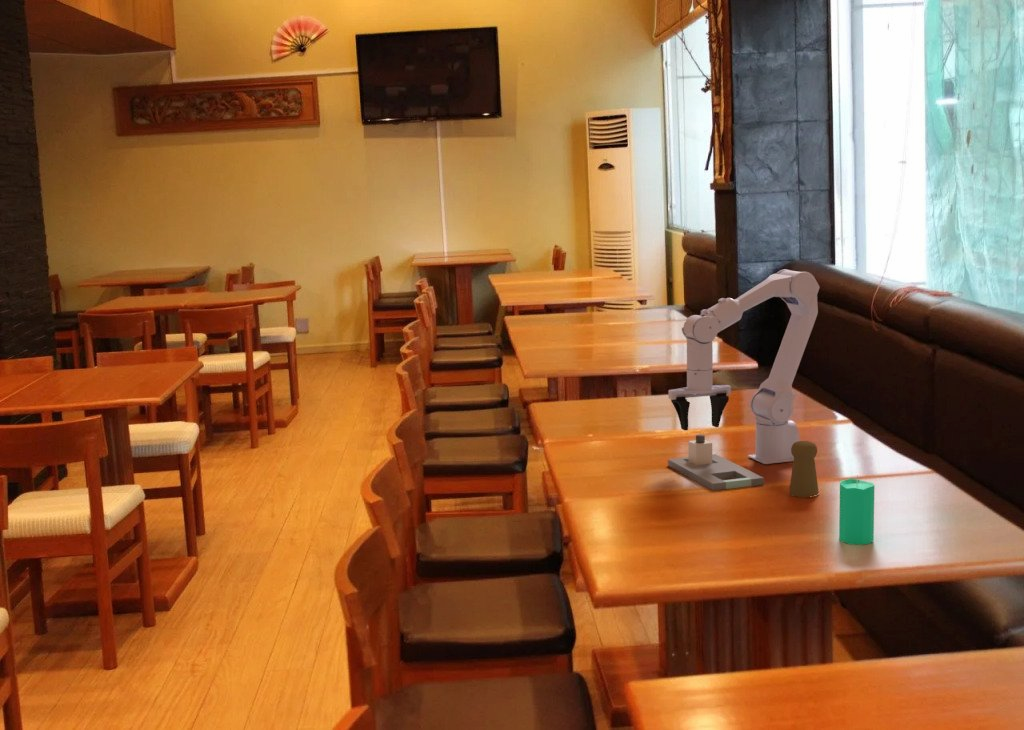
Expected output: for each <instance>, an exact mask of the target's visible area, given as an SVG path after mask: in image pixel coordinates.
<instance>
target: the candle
mask: <svg viewBox="0 0 1024 730" xmlns="http://www.w3.org/2000/svg"><path fill="white" fill-rule="evenodd" d="M838 524H839V525H838V527H839V529H838V530H839V531H838V538H839V541H840V542H842V543H844V542H845V543H844V544H847V543H848V545H852V544H853V546H863V545H862V544H865V545H869V544H868V543H870V544H872V543H873V542H874V535H875V533H874V531H875V526H874V525H875V484H874V483H873V482H869V481H865V480H861V479H858V474H857V475H856V479H855V478H847V479H843V480H841V481H839V523H838ZM872 541H873V542H872ZM871 542H872V543H871ZM856 544H858V545H856Z"/></svg>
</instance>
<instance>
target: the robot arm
mask: <svg viewBox="0 0 1024 730" xmlns="http://www.w3.org/2000/svg"><path fill="white" fill-rule="evenodd" d="M820 288H821V287H820V285H819V283H818V281H817V280H816V278H815V276H814V275H813V274H812V273H810V272H808V271H799V270H798V271H796V270H791V269H788V268H787V269H785V268H784V269H780V270H778V271H777V272H776V273H773V274H770V275H769V276H768V277H767V278H766V279H764V280H763V281H762V282H760V283H759V284H757V285H755V286H754V287H752V288H750V289H749V290H747V291H746V292H744V293H743V294H741V295H739V296H738V297H737V298H734V299H733V298H731V297H727V298H724V297H721V298H719V299H718V300H717V302H718V303H716V304H714V305H712V306H711V307H709V308H707V309H706V308H705V309H702V310H700V314H699V315H698V314H694V315H690V316H688V318H686V320H685V321H684V323H683V326H682V327H681V332H682V334H683V336H684V337H685V339H686V387H680V388H675V389H674V388H672V389H669V390H667V391H668V399H669V400H671V401H670V402H671V404H672V405H673V408H674V409H675V411H676V414H677V417H678V420H679V424H680V429H681V430H683V431H689V411H690V410H689V409H690V406H691V405H690V404H691V402H690V401H688V398H700V397H708V396H709V401H710V406H711V426H712V427H714V428H719V427H720V423H721V418H722V415H723V412H724V410H725V408H726V406H727V404H728V402H729V400H730V398H729V395H730V396H731V395H732V386H731V385H729V384H719V385H718V384H717V385H716V384H714V385H713V383H714V382H713V380H714V379H713V378H714V377H713V376H714V375H713V373H714V371H713V370H714V369H713V355H714V354H713V351H714V350H713V349H714V348H713V341H714V340H715V339H716V337H717V335H718V333H720V332H722V331H723V330H725V329H727V328H728V327H730V326H732V325H734V324H736V323H737V322H739V321H740V320H741V319H742V317H743V313H744V312H746V311H748V310H750V309H752V308H753V307H756V306H757V305H760V304H761V303H763V302H765V301H768V300H769V299H772V298H774V297H775V298H780V299H781V300H782V301H784V303H786V305H787V308H788V310H789V312H790V313H791V315H790V318H789V321H788V323H787V326H786V329H785V332H784V334H783V337H782V339H781V343H780V346H779V349H778V351H777V354H776V356H775V359H774V362H773V364H772V368H771V369H770V373H769V376H768V377H767V378H766V379H764V381H762V382H761V383H760V385H759V388H758V389H757V391H756V392H755V393H754V394H753V396H752V397H751V399H750V403H749V406H750V407H749V408H750V410H751V412H752V414H753V415H754V416H755V417H754V418H755V419H754V420H755V454H754V453H753V454H749V455H747V456H748V458H749V459H752V460H754V461H757V462H759V463H761V464H763V465H770V464H781V463H786V462H787V463H788V462H793V461H794V457H793V455H792V453H791V447H792V445H793V443H795V442H798V441H800V431H799V427H798V425H797V423H796V422H795V421H794V420H792V419H791V417H792V416H793V413H794V400H795V397H796V394H795V391H794V389H793V386H792V385H793V382H794V379H795V377H796V375H797V371H798V370H799V366H800V363H801V361H802V358H803V355H804V352H805V349H806V347H807V344H808V341H809V338H810V336H811V334H812V331H813V328H814V325H815V322H816V320H817V316H818V315H819V308H818V293H819V290H820Z"/></svg>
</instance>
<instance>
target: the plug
mask: <svg viewBox="0 0 1024 730" xmlns="http://www.w3.org/2000/svg"><path fill="white" fill-rule="evenodd" d="M705 436H706V435H705V434H696V435H695V439H693V440H688V457H689V463H690V464H692V465H703V464H712V454H713V442H710V441H709V440H707V439H705V438H706V437H705Z"/></svg>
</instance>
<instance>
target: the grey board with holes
mask: <svg viewBox="0 0 1024 730" xmlns="http://www.w3.org/2000/svg"><path fill="white" fill-rule="evenodd" d="M667 465H668V466H667V467H670V468H672V469H673V470H675V471H677V472H679V473H681V474H682V475H685V476H686V477H688V478H689V479H691V480H693V481H695V482H697V483H698V484H701V485H702V486H703V487H706V488H707V489H709V490H711V491H721V490H727V489H728V490H730V489H735V488H736V489H738V488H745V487H746V488H747V487H755V486H763V485H765V477H763V476H762V475H760V474H757V473H755V472H753V471H751V470H749V469H747V468H745V467H743V466H741V465H738V464H737V463H735V462H733V461H730V460H728V459H726V458H724V457H723V456H720V455H718V454H716V453H714V454H713V453H712V464H703V465H692V464H690V463H689V456H686V457H678V458H677V457H676V458H667Z"/></svg>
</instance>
